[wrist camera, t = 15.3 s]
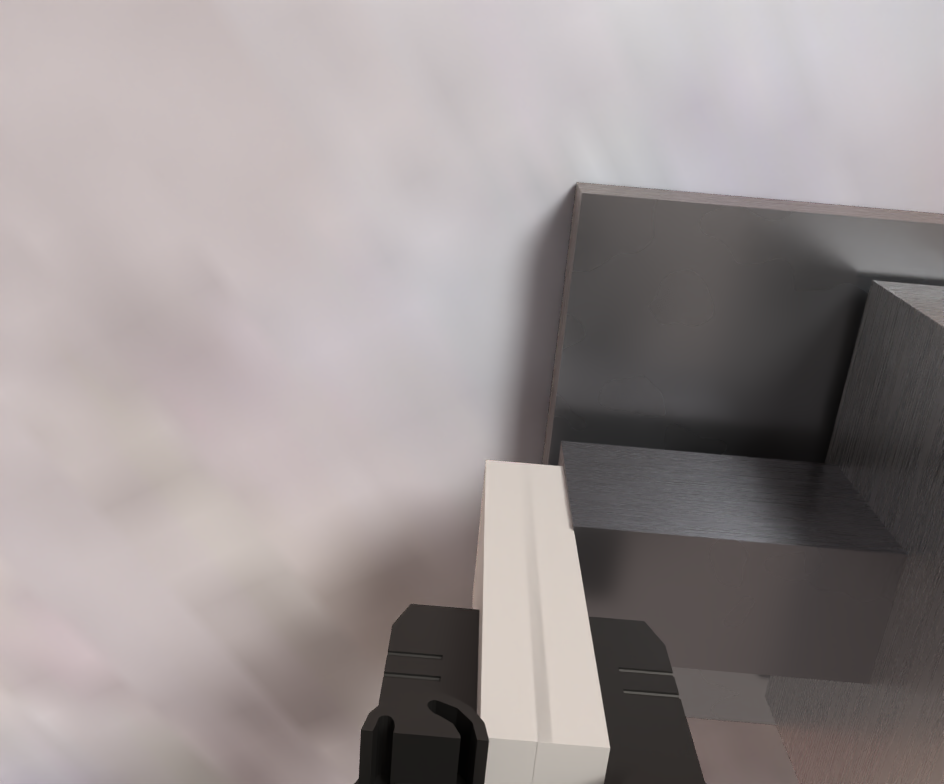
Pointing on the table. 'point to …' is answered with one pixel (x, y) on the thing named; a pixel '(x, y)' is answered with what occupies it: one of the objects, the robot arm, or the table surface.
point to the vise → (720, 337)
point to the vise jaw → (800, 557)
